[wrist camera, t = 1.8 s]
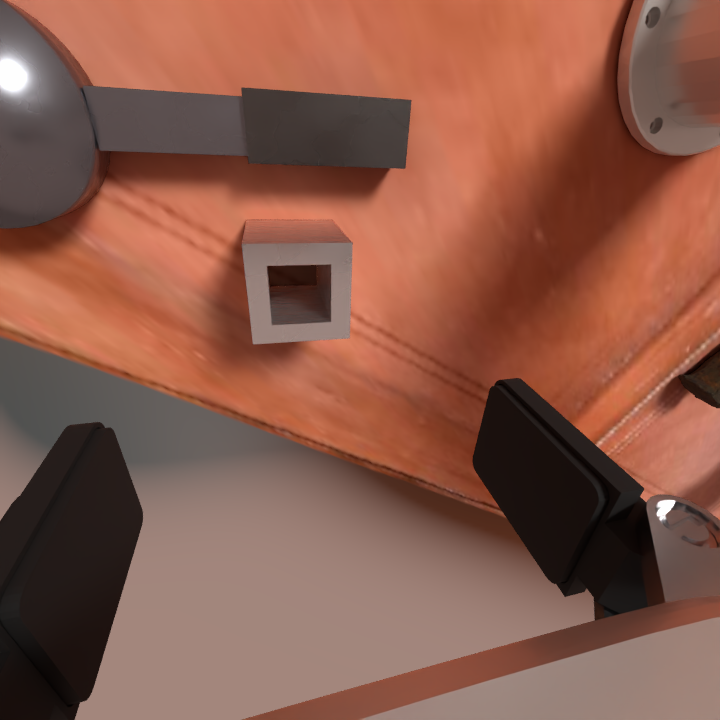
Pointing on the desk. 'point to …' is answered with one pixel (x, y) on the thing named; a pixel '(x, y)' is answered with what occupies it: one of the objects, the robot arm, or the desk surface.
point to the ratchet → (158, 125)
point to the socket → (298, 302)
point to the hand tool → (705, 381)
